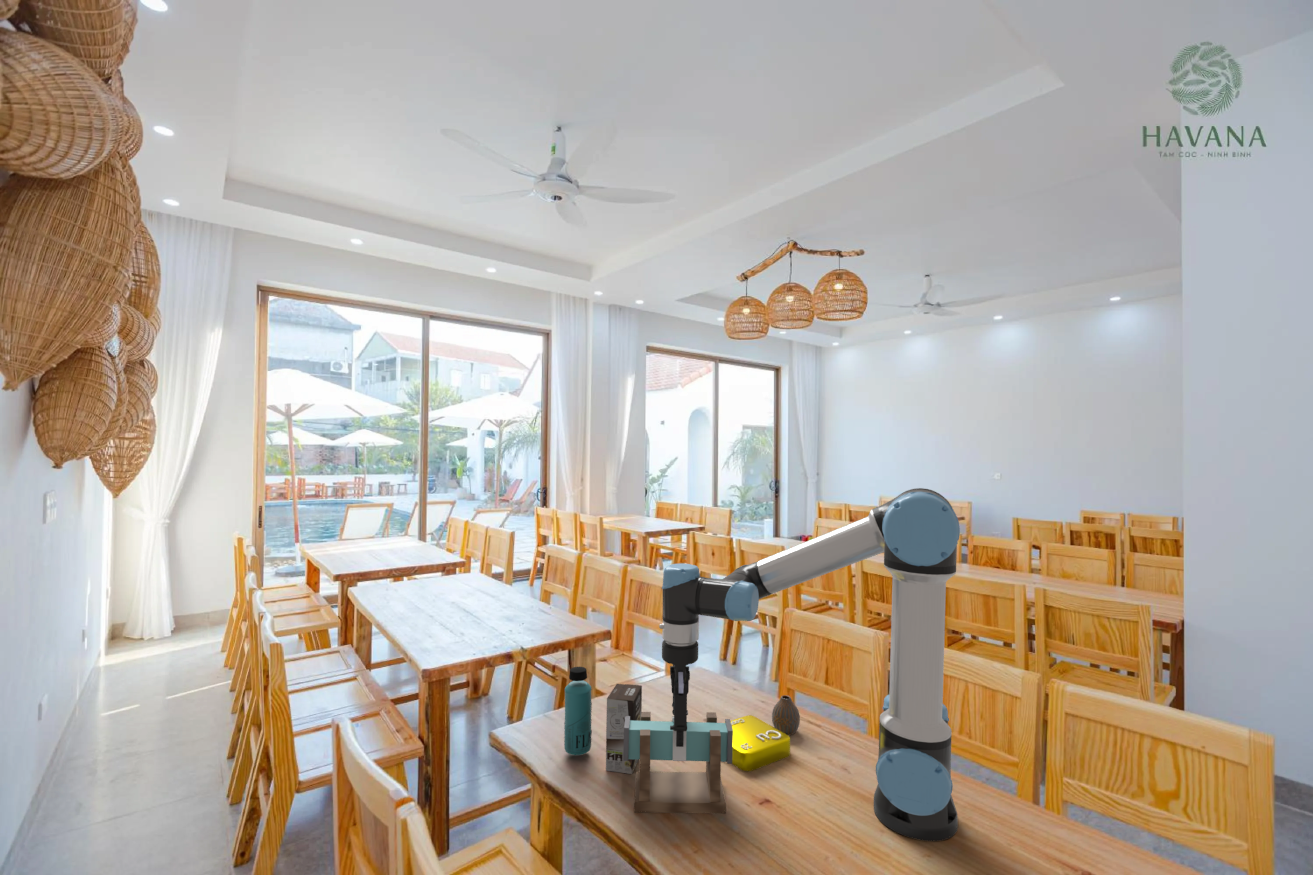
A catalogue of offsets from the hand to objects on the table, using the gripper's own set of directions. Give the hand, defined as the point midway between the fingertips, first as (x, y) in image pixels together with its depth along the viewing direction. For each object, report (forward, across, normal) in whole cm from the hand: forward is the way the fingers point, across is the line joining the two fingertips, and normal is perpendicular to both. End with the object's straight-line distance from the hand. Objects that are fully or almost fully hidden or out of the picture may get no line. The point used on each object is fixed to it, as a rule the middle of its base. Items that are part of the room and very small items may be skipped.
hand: (678, 753), depth 124 cm
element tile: (+9, -19, +17) cm, 28 cm away
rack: (+9, 0, 0) cm, 9 cm away
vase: (+9, -28, +28) cm, 41 cm away
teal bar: (0, 0, 0) cm, 0 cm away
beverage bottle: (+9, -16, -23) cm, 29 cm away
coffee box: (+9, -13, -12) cm, 20 cm away
